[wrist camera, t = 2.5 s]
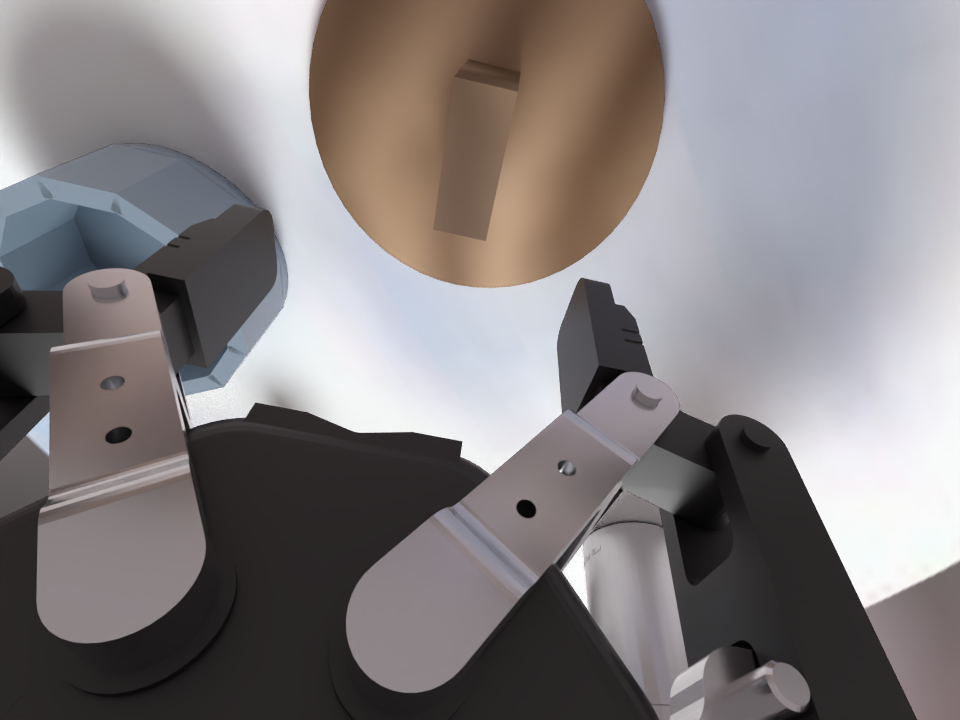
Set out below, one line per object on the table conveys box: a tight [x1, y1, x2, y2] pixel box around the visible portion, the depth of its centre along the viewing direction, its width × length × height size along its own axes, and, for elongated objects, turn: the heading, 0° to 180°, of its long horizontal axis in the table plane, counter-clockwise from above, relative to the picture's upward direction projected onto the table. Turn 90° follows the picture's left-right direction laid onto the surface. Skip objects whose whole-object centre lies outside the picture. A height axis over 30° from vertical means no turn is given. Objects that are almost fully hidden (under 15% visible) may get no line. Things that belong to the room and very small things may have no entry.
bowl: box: [0, 143, 288, 396], centre depth 27 cm, size 13×13×6 cm
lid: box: [309, 0, 665, 288], centre depth 21 cm, size 17×17×6 cm
